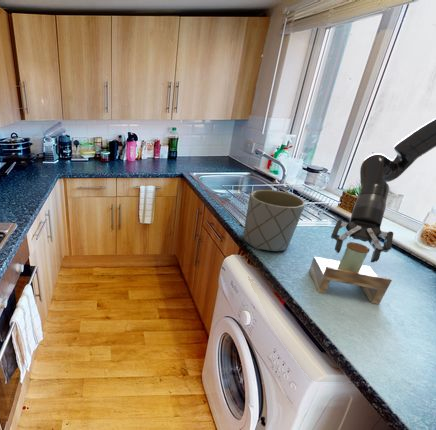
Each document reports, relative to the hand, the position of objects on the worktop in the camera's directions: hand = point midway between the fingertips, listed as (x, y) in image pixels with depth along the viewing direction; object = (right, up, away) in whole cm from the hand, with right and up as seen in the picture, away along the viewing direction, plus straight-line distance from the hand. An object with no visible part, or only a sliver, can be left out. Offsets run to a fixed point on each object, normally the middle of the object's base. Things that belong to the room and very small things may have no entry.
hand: (355, 256), depth 88 cm
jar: (0, -5, +3) cm, 6 cm away
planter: (-12, +1, +31) cm, 33 cm away
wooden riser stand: (0, -11, +6) cm, 12 cm away
